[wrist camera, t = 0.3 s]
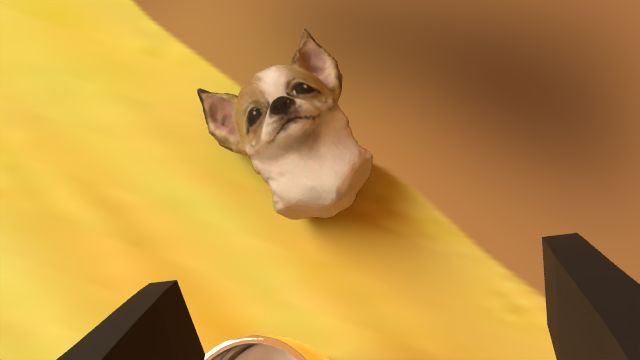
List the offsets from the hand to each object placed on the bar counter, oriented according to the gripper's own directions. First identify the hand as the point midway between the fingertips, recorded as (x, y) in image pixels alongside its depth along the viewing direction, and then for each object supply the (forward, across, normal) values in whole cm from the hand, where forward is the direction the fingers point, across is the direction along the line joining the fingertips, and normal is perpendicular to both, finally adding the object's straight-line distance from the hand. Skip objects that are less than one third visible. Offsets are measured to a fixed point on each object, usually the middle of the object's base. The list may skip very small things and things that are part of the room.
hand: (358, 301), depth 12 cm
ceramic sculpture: (+32, +8, +10) cm, 35 cm away
